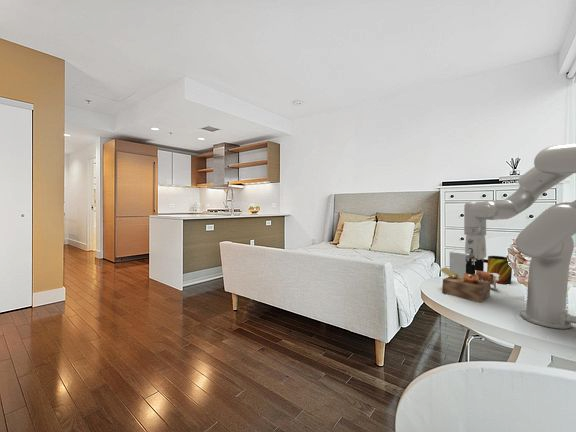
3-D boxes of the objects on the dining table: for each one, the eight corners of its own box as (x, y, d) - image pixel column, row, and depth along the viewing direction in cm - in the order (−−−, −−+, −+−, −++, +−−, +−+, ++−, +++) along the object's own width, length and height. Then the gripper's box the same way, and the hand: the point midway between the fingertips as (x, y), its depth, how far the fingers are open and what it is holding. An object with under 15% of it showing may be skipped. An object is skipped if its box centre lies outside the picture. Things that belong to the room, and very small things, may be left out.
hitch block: (489, 296, 115) (490, 282, 114) (479, 302, 107) (480, 287, 107) (453, 287, 126) (454, 274, 125) (442, 292, 118) (442, 279, 118)
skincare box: (472, 282, 133) (473, 252, 132) (466, 284, 130) (467, 253, 129) (454, 278, 140) (455, 249, 139) (448, 280, 137) (449, 251, 136)
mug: (476, 276, 144) (477, 254, 144) (509, 280, 137) (510, 257, 136) (477, 281, 136) (478, 257, 135) (512, 285, 129) (514, 260, 128)
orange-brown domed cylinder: (479, 294, 115) (480, 275, 114) (475, 297, 112) (476, 277, 111) (465, 291, 119) (466, 272, 118) (461, 293, 116) (461, 274, 115)
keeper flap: (457, 277, 121) (458, 275, 120) (453, 279, 118) (454, 277, 118) (444, 269, 125) (445, 267, 125) (440, 270, 122) (441, 268, 122)
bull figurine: (494, 293, 118) (496, 274, 118) (473, 283, 132) (473, 267, 131) (504, 293, 119) (505, 274, 118) (481, 283, 132) (482, 267, 131)
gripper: (478, 233, 105) (477, 277, 105) (492, 230, 115) (492, 270, 116) (456, 232, 111) (456, 273, 111) (472, 229, 121) (472, 268, 122)
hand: (474, 272), depth 113 cm, fingers open, 9 cm apart
